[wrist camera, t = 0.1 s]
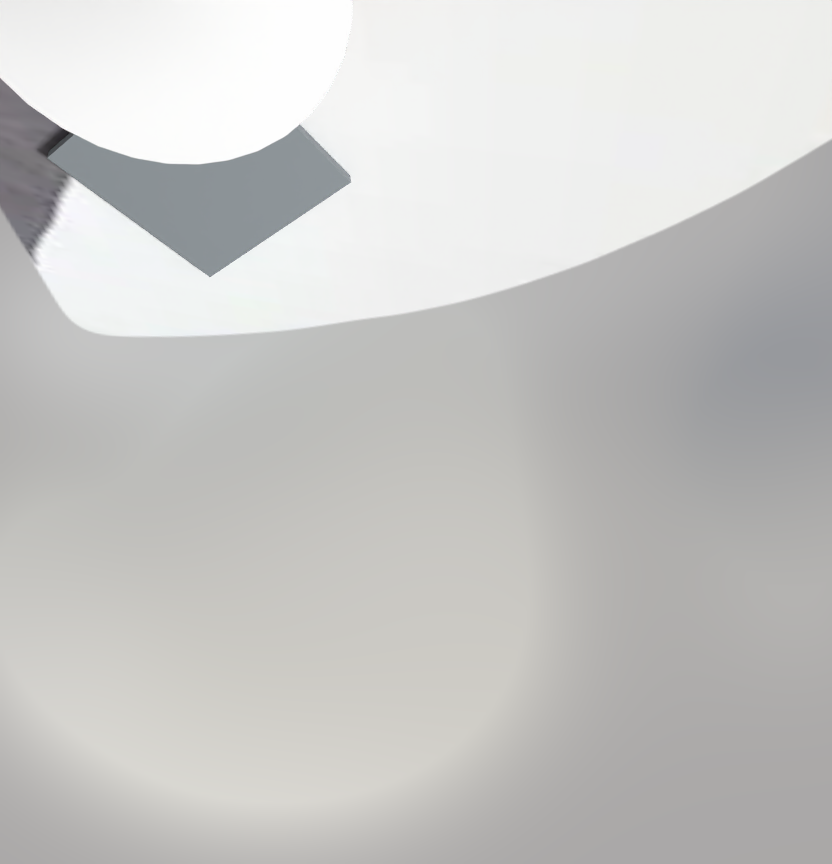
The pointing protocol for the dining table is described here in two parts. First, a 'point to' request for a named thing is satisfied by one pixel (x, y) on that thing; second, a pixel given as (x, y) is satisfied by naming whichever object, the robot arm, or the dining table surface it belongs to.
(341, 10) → the cylindrical container
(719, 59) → the dining table surface
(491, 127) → the dining table surface
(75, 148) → the rubber mat
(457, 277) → the dining table surface
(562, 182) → the dining table surface
